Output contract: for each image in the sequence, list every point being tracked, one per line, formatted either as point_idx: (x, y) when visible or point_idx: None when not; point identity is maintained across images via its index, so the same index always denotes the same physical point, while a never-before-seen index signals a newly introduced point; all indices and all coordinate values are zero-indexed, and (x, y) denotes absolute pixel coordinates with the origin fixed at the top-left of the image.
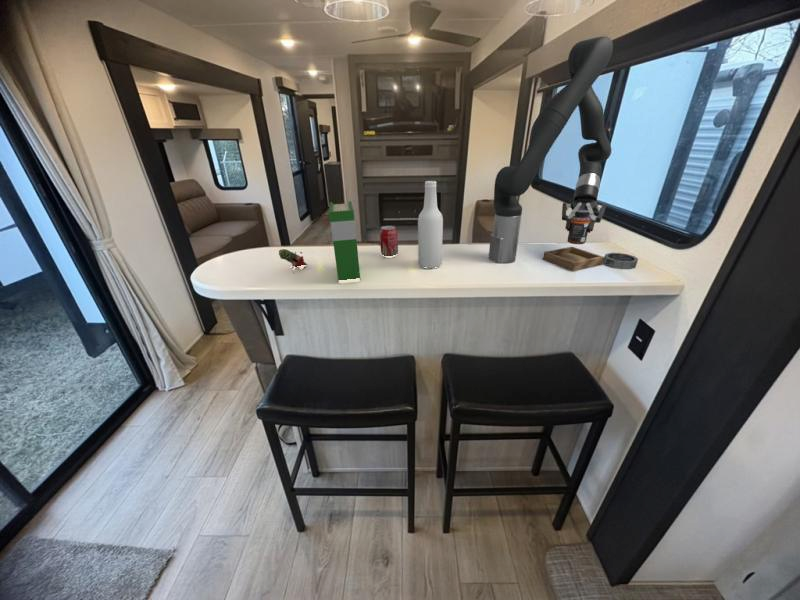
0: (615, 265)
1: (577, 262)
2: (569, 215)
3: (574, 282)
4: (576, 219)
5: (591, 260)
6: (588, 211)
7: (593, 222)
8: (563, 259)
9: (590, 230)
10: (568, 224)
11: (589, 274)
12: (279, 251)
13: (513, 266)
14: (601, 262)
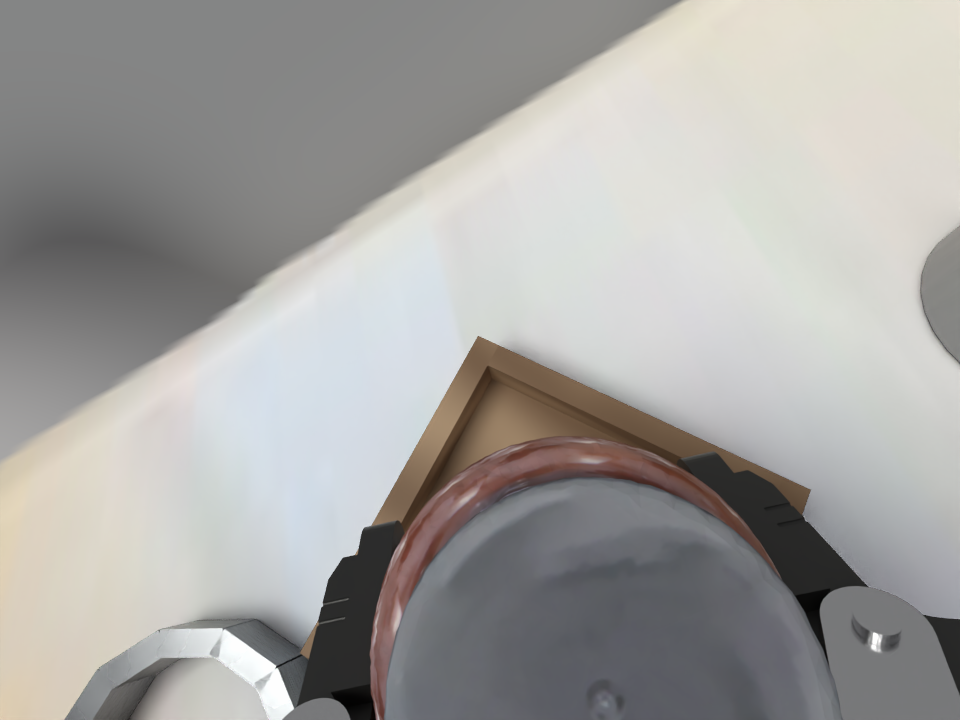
0: (230, 622)
1: (464, 366)
2: (931, 678)
3: (432, 201)
4: (627, 450)
5: (385, 504)
6: (393, 674)
7: (320, 685)
8: (578, 382)
9: (372, 528)
10: (743, 492)
11: (382, 370)
12: None
13: (855, 219)
14: None
